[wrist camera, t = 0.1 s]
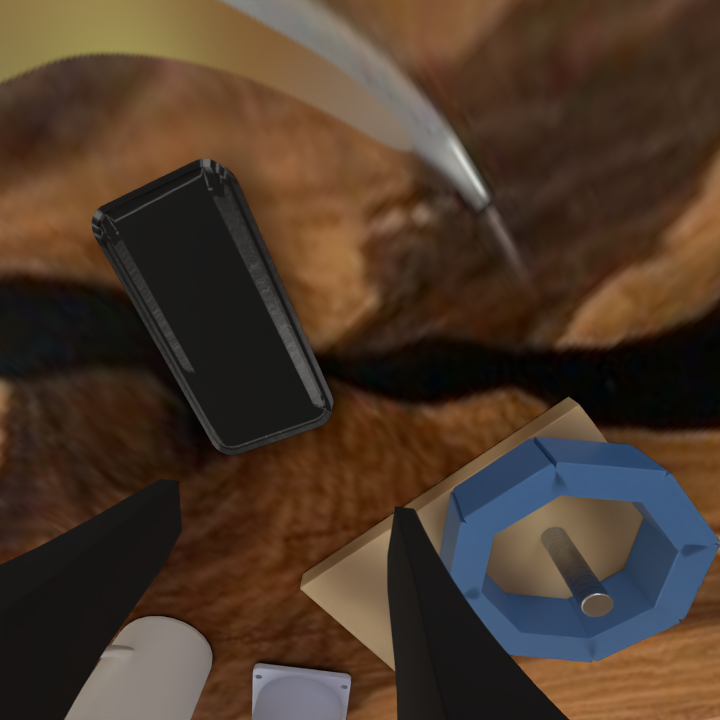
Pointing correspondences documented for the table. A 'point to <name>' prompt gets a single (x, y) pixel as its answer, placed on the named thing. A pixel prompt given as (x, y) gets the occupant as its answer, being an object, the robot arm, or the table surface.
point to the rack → (509, 548)
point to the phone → (215, 306)
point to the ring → (626, 588)
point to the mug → (147, 674)
